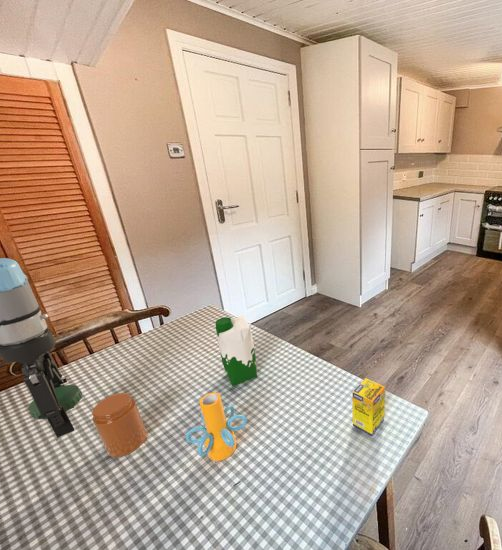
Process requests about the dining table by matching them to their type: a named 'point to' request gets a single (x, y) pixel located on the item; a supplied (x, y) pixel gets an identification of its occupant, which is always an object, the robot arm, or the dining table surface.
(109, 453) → the jar
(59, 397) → the jar lid
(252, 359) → the milk carton
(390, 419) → the dining table surface
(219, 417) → the orange vase
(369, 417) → the supplement box
